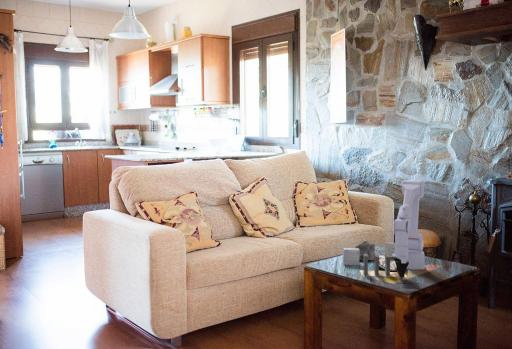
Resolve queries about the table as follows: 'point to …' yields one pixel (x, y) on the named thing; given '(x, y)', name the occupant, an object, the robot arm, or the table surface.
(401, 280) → the loose domino
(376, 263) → the domino
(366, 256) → the end domino
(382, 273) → the board
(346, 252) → the medicine box
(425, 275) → the table surface
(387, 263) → the domino
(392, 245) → the cassette
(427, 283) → the table surface
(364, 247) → the mineral rock
